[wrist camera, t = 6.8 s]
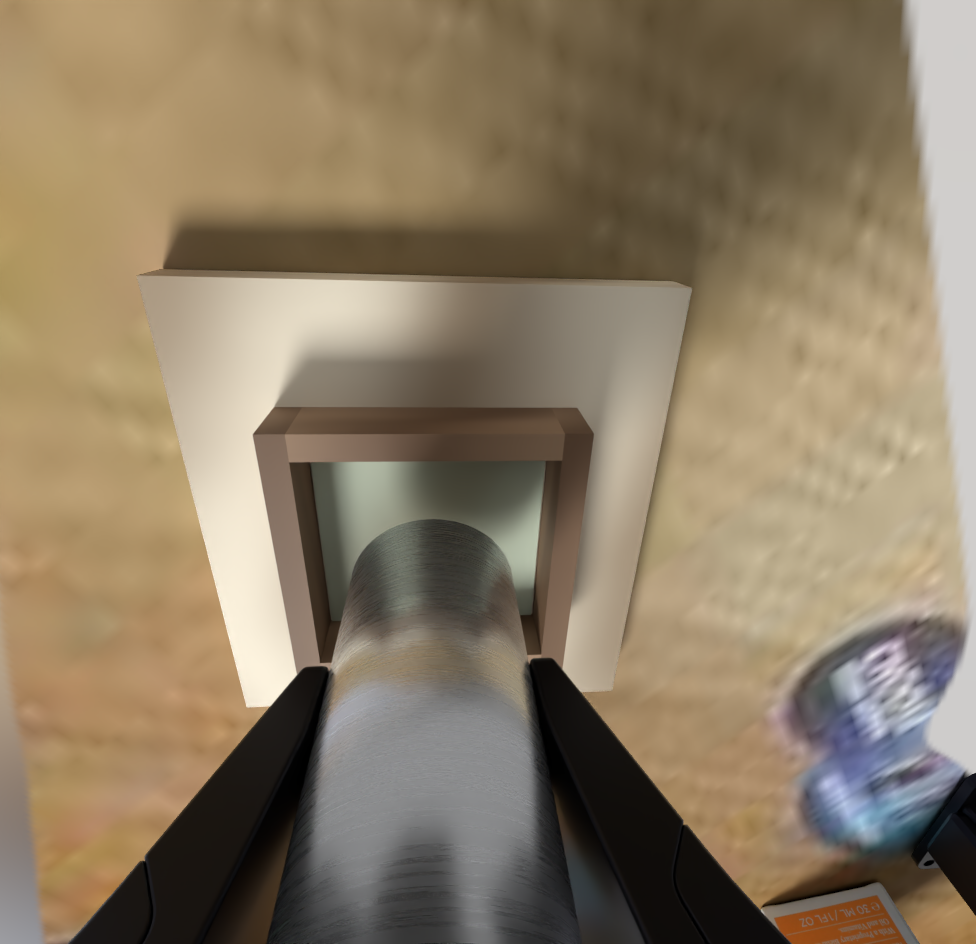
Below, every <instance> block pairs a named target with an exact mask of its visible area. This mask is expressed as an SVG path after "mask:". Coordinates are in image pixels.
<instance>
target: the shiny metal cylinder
mask: <svg viewBox="0 0 976 944" xmlns="http://www.w3.org/2000/svg"><path fill="white" fill-rule="evenodd" d="M266 944H582V940H581V935H580V930H579V924H578V919H577V914H576V909H575V903H574V898H573V893H572V888H571V882H570V877H569V872H568V867H567V861H566V856H565V851H564V846H563V840H562V835H561V830H560V824H559V819H558V814H557V809H556V803H555V798H554V793H553V788H552V782H551V777H550V772H549V767H548V761H547V756H546V751H545V746H544V740H543V735H542V730H541V725H540V719H539V714H538V709H537V704H536V698H535V693H534V688H533V682H532V677H531V672H530V667H529V661H528V656H527V651H526V646H525V640H524V635H523V630H522V625H521V619H520V614H519V609H518V604H517V598H516V593H515V588H514V583H513V577H512V572H511V568H510V565H509V562H508V560H507V558H506V556H505V554H504V552H503V551H502V550H501V549H500V547H499V546H498V545H497V544H496V543H495V542H494V541H493V540H492V539H491V538H489V537H488V536H487V535H485V534H484V533H482V532H481V531H479V530H477V529H475V528H473V527H471V526H468V525H466V524H462V523H459V522H455V521H449V520H442V519H426V520H417V521H412V522H407V523H404V524H401V525H398V526H396V527H393V528H391V529H389V530H387V531H385V532H384V533H382V534H380V535H379V536H378V537H376V538H375V539H374V540H372V541H371V542H370V543H369V544H368V545H367V546H366V547H365V549H364V550H363V551H362V553H361V554H360V555H359V557H358V559H357V561H356V563H355V566H354V569H353V572H352V576H351V581H350V585H349V589H348V594H347V598H346V602H345V606H344V611H343V615H342V619H341V624H340V628H339V632H338V637H337V641H336V645H335V649H334V654H333V658H332V662H331V667H330V671H329V675H328V680H327V684H326V688H325V692H324V697H323V701H322V705H321V710H320V714H319V718H318V722H317V727H316V731H315V735H314V740H313V744H312V748H311V753H310V757H309V761H308V765H307V770H306V774H305V778H304V783H303V787H302V791H301V796H300V800H299V804H298V808H297V813H296V817H295V821H294V826H293V830H292V834H291V838H290V843H289V847H288V851H287V856H286V860H285V864H284V869H283V873H282V877H281V881H280V886H279V890H278V894H277V899H276V903H275V907H274V912H273V916H272V920H271V924H270V929H269V933H268V937H267V942H266Z"/></svg>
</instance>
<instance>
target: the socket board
mask: <svg viewBox="0 0 976 944" xmlns="http://www.w3.org/2000/svg"><path fill="white" fill-rule="evenodd" d="M137 279H138V283H139V287H140V291H141V295H142V299H143V303H144V307H145V311H146V314H147V318H148V322H149V326H150V330H151V334H152V338H153V342H154V346H155V350H156V354H157V358H158V361H159V365H160V369H161V373H162V377H163V381H164V385H165V389H166V393H167V397H168V401H169V405H170V408H171V412H172V416H173V420H174V424H175V428H176V432H177V436H178V440H179V444H180V448H181V452H182V455H183V459H184V463H185V467H186V471H187V475H188V479H189V483H190V487H191V491H192V495H193V499H194V502H195V506H196V510H197V514H198V518H199V522H200V526H201V530H202V534H203V538H204V542H205V546H206V549H207V553H208V557H209V561H210V565H211V569H212V573H213V577H214V581H215V585H216V589H217V593H218V596H219V600H220V604H221V608H222V612H223V616H224V620H225V624H226V628H227V632H228V636H229V640H230V643H231V647H232V651H233V655H234V659H235V663H236V667H237V671H238V675H239V679H240V683H241V687H242V690H243V694H244V698H245V702H246V706H247V707H264V706H271V705H272V704H273V702H274V701H275V700H276V699H277V698H278V697H279V695H280V694H281V693H282V692H283V691H284V689H285V688H286V687H287V686H288V685H289V683H290V682H291V681H292V680H293V679H294V678H295V676H296V675H297V674H298V673H299V672H300V670H301V669H303V668H304V667H310V666H326V667H327V668H328V669H329V671H330V667H331V662H332V658H333V654H334V649H335V645H336V641H337V637H338V632H339V628H340V624H341V619H342V615H343V611H344V606H345V602H346V598H347V594H348V589H349V585H350V581H351V576H352V572H353V569H354V566H355V563H356V561H357V559H358V557H359V555H360V554H361V553H362V551H363V550H364V549H365V547H366V546H367V545H368V544H369V543H370V542H371V541H372V540H374V539H375V538H376V537H378V536H379V535H380V534H382V533H384V532H385V531H387V530H389V529H391V528H393V527H396V526H398V525H401V524H404V523H407V522H412V521H417V520H426V519H442V520H449V521H455V522H459V523H462V524H466V525H468V526H471V527H473V528H475V529H477V530H479V531H481V532H482V533H484V534H485V535H487V536H488V537H489V538H491V539H492V540H493V541H494V542H495V543H496V544H497V545H498V546H499V547H500V549H501V550H502V551H503V552H504V554H505V556H506V558H507V560H508V562H509V565H510V568H511V572H512V577H513V583H514V588H515V593H516V598H517V604H518V609H519V614H520V619H521V625H522V630H523V635H524V640H525V646H526V651H527V656H528V661H529V663H530V661H531V659H533V658H553V659H554V660H555V661H556V662H557V663H558V664H559V666H560V667H561V668H562V669H563V671H564V672H565V673H566V674H567V676H568V677H569V678H570V679H571V681H572V682H573V683H574V684H575V686H576V687H577V688H578V689H579V691H580V692H595V691H612V688H613V683H614V678H615V673H616V668H617V663H618V658H619V653H620V648H621V643H622V638H623V633H624V628H625V623H626V618H627V613H628V608H629V603H630V598H631V593H632V588H633V583H634V578H635V573H636V568H637V563H638V558H639V553H640V548H641V543H642V538H643V533H644V528H645V523H646V518H647V513H648V508H649V503H650V498H651V493H652V488H653V483H654V478H655V473H656V468H657V462H658V457H659V452H660V447H661V442H662V437H663V432H664V427H665V422H666V417H667V412H668V407H669V402H670V397H671V392H672V387H673V382H674V377H675V372H676V367H677V362H678V357H679V352H680V347H681V342H682V337H683V332H684V327H685V322H686V317H687V312H688V307H689V302H690V297H691V292H692V288H691V287H688V286H685V285H682V284H680V283H677V282H674V281H642V280H599V279H557V278H515V277H473V276H431V275H388V274H346V273H304V272H262V271H220V270H177V269H159V270H156V271H152V272H148V273H144V274H140V275H137Z"/></svg>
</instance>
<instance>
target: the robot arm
mask: <svg viewBox="0 0 976 944" xmlns="http://www.w3.org/2000/svg"><path fill="white" fill-rule="evenodd" d="M529 667H530V672H531V677H532V682H533V688H534V693H535V698H536V704H537V709H538V714H539V719H540V725H541V730H542V735H543V740H544V746H545V751H546V756H547V761H548V767H549V772H550V777H551V782H552V788H553V793H554V798H555V803H556V809H557V814H558V819H559V824H560V830H561V835H562V840H563V846H564V851H565V856H566V861H567V867H568V872H569V877H570V882H571V888H572V893H573V898H574V903H575V909H576V914H577V919H578V924H579V930H580V935H581V940H582V944H792V943H791V942H790V941H789V940H788V939H787V938H786V937H785V936H784V935H783V934H782V933H781V932H780V931H779V930H778V929H777V927H776V926H775V925H774V924H773V923H772V922H771V921H770V920H769V919H768V918H767V917H766V916H765V915H764V914H763V913H762V912H761V910H760V909H759V908H758V907H757V906H756V905H755V904H754V903H753V902H752V901H751V900H750V898H749V897H748V896H747V895H746V894H745V893H744V892H743V891H742V890H741V889H740V888H739V886H738V885H737V884H736V883H735V882H734V881H733V880H732V879H731V878H730V876H729V875H728V874H727V873H726V872H725V870H724V869H723V868H722V867H721V866H720V864H719V863H718V862H717V861H716V860H715V858H714V857H713V856H712V855H711V854H710V852H709V851H708V850H707V849H706V848H705V847H704V845H703V844H702V843H701V841H700V840H699V839H698V838H697V836H696V835H695V834H694V833H693V831H692V830H691V829H690V828H689V826H688V825H683V819H682V818H681V817H680V815H679V814H678V813H677V812H676V810H675V809H674V808H673V807H672V805H671V804H670V803H669V802H668V800H667V799H666V798H665V797H664V795H663V794H662V793H661V792H660V790H659V789H658V788H657V787H656V785H655V784H654V783H653V782H652V780H651V779H650V778H649V777H648V775H647V774H646V773H645V772H644V770H643V769H642V768H641V767H640V765H639V764H638V763H637V762H636V760H635V759H634V758H633V757H632V755H631V754H630V753H629V752H628V751H627V749H626V748H625V747H624V746H623V744H622V743H621V742H620V741H619V739H618V738H617V737H616V736H615V734H614V733H613V732H612V731H611V729H610V728H609V727H608V726H607V724H606V723H605V722H604V721H603V719H602V718H601V717H600V716H599V714H598V713H597V712H596V711H595V709H594V708H593V707H592V706H591V704H590V703H589V702H588V701H587V699H586V698H585V697H584V696H583V694H582V693H581V692H580V691H579V689H578V688H577V687H576V686H575V684H574V683H573V682H572V681H571V679H570V678H569V677H568V676H567V674H566V673H565V672H564V671H563V669H562V668H561V667H560V666H559V664H558V663H557V662H556V661H555V660H554V659H553V658H533V659H531V661H530V663H529ZM328 675H329V669H328V668H327V667H326V666H310V667H304V668H303V669H301V670H300V672H299V673H298V674H297V675H296V676H295V678H294V679H293V680H292V681H291V682H290V683H289V685H288V686H287V687H286V688H285V689H284V691H283V692H282V693H281V694H280V695H279V697H278V698H277V699H276V700H275V701H274V702H273V704H272V705H271V706H270V707H269V708H268V710H267V711H266V712H265V713H264V714H263V716H262V717H261V718H260V719H259V720H258V722H257V723H256V724H255V725H254V726H253V727H252V729H251V730H250V731H249V732H248V733H247V735H246V736H245V737H244V738H243V739H242V741H241V742H240V743H239V744H238V745H237V747H236V748H235V749H234V750H233V751H232V752H231V754H230V755H229V756H228V757H227V758H226V760H225V761H224V762H223V763H222V764H221V766H220V767H219V768H218V769H217V770H216V772H215V773H214V774H213V775H212V776H211V777H210V779H209V780H208V781H207V782H206V783H205V785H204V786H203V787H202V788H201V789H200V791H199V792H198V793H197V794H196V795H195V797H194V798H193V799H192V800H191V801H190V802H189V804H188V805H187V806H186V807H185V808H184V810H183V811H182V812H181V813H180V814H179V816H178V817H177V818H176V819H175V820H174V822H173V823H172V824H171V825H170V826H169V827H168V829H167V830H166V831H165V832H164V833H163V835H162V836H161V837H160V838H159V839H158V841H157V842H156V843H155V844H154V845H153V847H152V848H151V849H150V850H149V851H148V852H147V854H146V855H145V861H140V862H139V863H138V864H137V865H136V866H135V868H134V869H133V870H132V871H131V872H130V874H129V875H128V876H127V877H126V878H125V880H124V881H123V882H122V883H121V884H120V885H119V887H118V888H117V889H116V890H115V891H114V892H113V894H112V895H111V896H110V897H109V898H108V899H107V900H106V902H105V903H104V904H103V905H102V906H101V907H100V908H99V910H98V911H97V912H96V913H95V914H94V915H93V916H92V918H91V919H90V920H89V921H88V922H87V923H86V924H85V926H84V927H83V928H82V929H81V930H80V931H79V932H78V933H77V934H76V936H75V937H74V938H73V939H72V940H71V941H70V942H69V943H68V944H266V942H267V937H268V933H269V929H270V924H271V920H272V916H273V912H274V907H275V903H276V899H277V894H278V890H279V886H280V881H281V877H282V873H283V869H284V864H285V860H286V856H287V851H288V847H289V843H290V838H291V834H292V830H293V826H294V821H295V817H296V813H297V808H298V804H299V800H300V796H301V791H302V787H303V783H304V778H305V774H306V770H307V765H308V761H309V757H310V753H311V748H312V744H313V740H314V735H315V731H316V727H317V722H318V718H319V714H320V710H321V705H322V701H323V697H324V692H325V688H326V684H327V680H328ZM911 857H912V859H913V860H914V862H915V863H916V865H917V866H918V867H919V868H920V869H931V868H941V870H942V871H943V872H944V874H945V875H946V876H947V878H948V879H949V880H950V882H951V883H952V885H953V886H954V887H955V889H956V890H957V891H958V893H959V894H960V895H961V897H962V898H963V899H964V901H965V902H966V903H967V905H968V906H969V907H970V909H971V910H972V911H973V913H974V914H975V915H976V773H974V774H972V775H970V776H969V777H967V778H966V779H965V780H964V782H963V783H962V785H961V786H960V788H959V789H958V790H957V792H956V793H955V795H954V796H953V797H952V799H951V800H950V802H949V803H948V804H947V806H946V807H945V809H944V810H943V811H942V813H941V814H940V816H939V817H938V818H937V820H936V821H935V823H934V824H933V825H932V827H931V828H930V830H929V831H928V832H927V834H926V835H925V837H924V838H923V840H922V841H921V842H920V844H919V845H918V847H917V848H916V849H915V851H914V852H913V854H912V856H911Z"/></svg>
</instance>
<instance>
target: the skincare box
mask: <svg viewBox="0 0 976 944" xmlns="http://www.w3.org/2000/svg"><path fill="white" fill-rule="evenodd" d="M761 911H762V913H763V914H764V915H765V916H766V917H767V918H768V919H769V920H770V921H771V922H772V923H773V924H774V925H775V926H776V927H777V929H778V930H779V931H780V932H781V933H782V934H783V935H784V936H785V937H786V938H787V939H788V940H789V941H790V942H791V943H792V944H920V943H919V942H918V940H917V939H916V937H915V935H914V934H913V932H912V931H911V929H910V928H909V926H908V925H907V923H906V921H905V920H904V918H903V917H902V915H901V914H900V912H899V910H898V909H897V907H896V905H895V904H894V902H893V901H892V899H891V897H890V896H889V894H888V893H887V891H886V890H885V888H884V887H883V885H882V884H881V883H879V882H876V883H872V884H869V885H867V886H865V887H861V888H856V889H851V890H846V891H842V892H837V893H832V894H827V895H823V896H818V897H813V898H808V899H804V900H799V901H794V902H789V903H785V904H780V905H769V906H765V907H762V908H761Z"/></svg>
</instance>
